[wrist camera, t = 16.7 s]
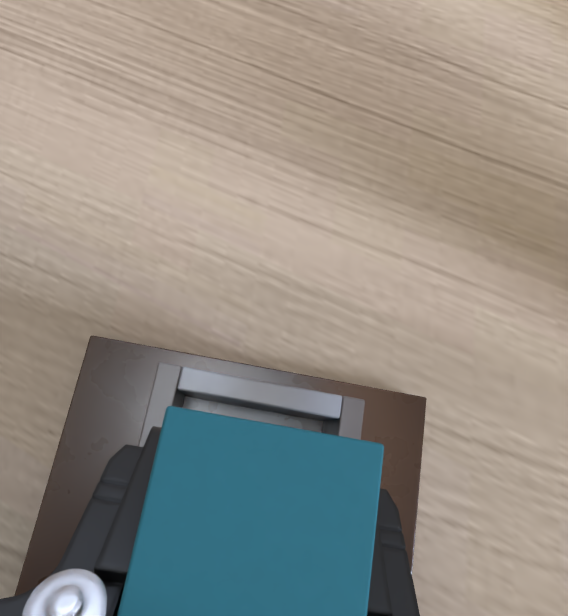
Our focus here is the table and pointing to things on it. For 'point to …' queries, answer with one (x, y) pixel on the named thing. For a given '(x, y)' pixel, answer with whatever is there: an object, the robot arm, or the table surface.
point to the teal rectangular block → (254, 521)
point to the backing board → (213, 399)
